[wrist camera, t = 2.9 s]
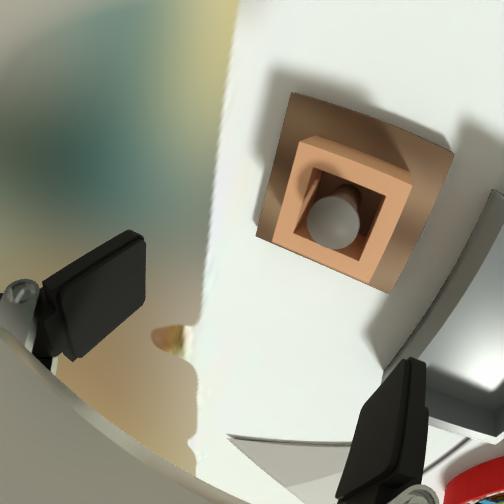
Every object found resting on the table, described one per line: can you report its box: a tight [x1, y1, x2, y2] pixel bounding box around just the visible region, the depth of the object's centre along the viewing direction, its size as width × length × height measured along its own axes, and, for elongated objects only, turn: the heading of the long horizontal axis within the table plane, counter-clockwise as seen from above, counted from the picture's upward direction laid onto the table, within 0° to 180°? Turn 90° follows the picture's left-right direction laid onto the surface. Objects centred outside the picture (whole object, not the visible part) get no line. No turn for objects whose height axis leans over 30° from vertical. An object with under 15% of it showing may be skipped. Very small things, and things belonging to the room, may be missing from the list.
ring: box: [272, 135, 413, 284], centre depth 20 cm, size 7×7×4 cm
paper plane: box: [227, 438, 351, 504], centre depth 37 cm, size 26×28×4 cm
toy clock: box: [443, 456, 504, 504], centre depth 25 cm, size 20×6×20 cm
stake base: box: [256, 93, 454, 295], centre depth 20 cm, size 12×12×7 cm
